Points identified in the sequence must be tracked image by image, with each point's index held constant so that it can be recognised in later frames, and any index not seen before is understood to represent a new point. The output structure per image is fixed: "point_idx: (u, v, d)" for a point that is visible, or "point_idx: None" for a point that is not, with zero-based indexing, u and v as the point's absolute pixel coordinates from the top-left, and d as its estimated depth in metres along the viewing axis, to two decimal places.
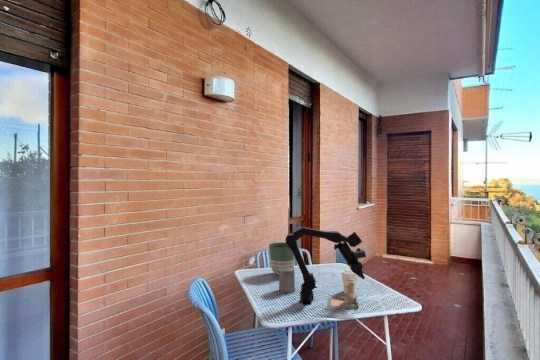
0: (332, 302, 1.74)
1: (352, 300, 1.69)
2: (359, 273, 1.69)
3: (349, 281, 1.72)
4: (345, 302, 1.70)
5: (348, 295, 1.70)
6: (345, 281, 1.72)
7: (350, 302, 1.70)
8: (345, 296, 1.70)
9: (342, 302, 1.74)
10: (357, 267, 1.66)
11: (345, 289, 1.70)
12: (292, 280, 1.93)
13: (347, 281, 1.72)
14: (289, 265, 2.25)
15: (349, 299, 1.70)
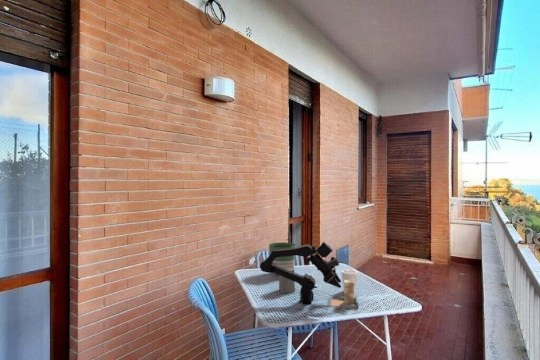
0: (332, 302, 1.74)
1: (352, 300, 1.69)
2: (334, 282, 1.68)
3: (349, 281, 1.72)
4: (345, 302, 1.70)
5: (348, 295, 1.70)
6: (345, 281, 1.72)
7: (350, 302, 1.70)
8: (345, 296, 1.70)
9: (342, 302, 1.74)
10: (329, 277, 1.65)
11: (345, 289, 1.70)
12: None
13: (347, 281, 1.72)
14: (289, 265, 2.25)
15: (349, 299, 1.70)
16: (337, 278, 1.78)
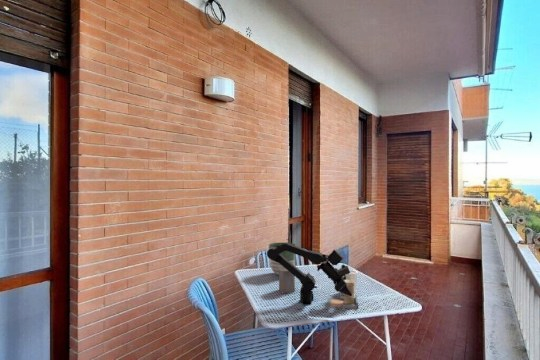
0: (332, 302, 1.74)
1: (352, 300, 1.69)
2: (345, 291, 1.67)
3: (349, 281, 1.72)
4: (345, 302, 1.70)
5: (348, 295, 1.70)
6: (345, 281, 1.72)
7: (350, 302, 1.70)
8: (345, 296, 1.70)
9: (342, 302, 1.74)
10: (340, 286, 1.64)
11: None
12: (292, 280, 1.93)
13: (347, 281, 1.72)
14: None
15: (349, 299, 1.70)
16: None
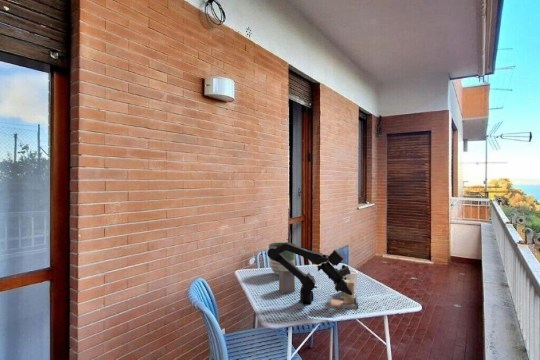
0: (332, 302, 1.74)
1: (352, 300, 1.69)
2: (345, 290, 1.69)
3: (349, 281, 1.72)
4: (345, 302, 1.70)
5: (348, 295, 1.70)
6: (345, 281, 1.72)
7: (350, 302, 1.70)
8: (345, 296, 1.70)
9: (342, 302, 1.74)
10: (340, 286, 1.64)
11: None
12: (292, 280, 1.93)
13: (347, 281, 1.72)
14: None
15: (349, 299, 1.70)
16: None
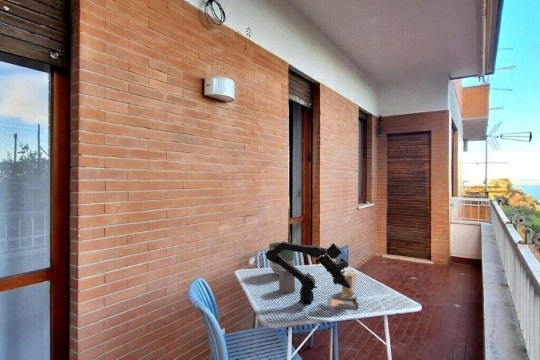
0: (332, 302, 1.74)
1: (350, 293, 1.70)
2: (343, 283, 1.69)
3: (347, 274, 1.72)
4: (343, 295, 1.70)
5: (346, 288, 1.70)
6: None
7: (348, 295, 1.70)
8: (343, 289, 1.71)
9: (342, 302, 1.74)
10: (339, 279, 1.64)
11: None
12: (292, 280, 1.93)
13: (345, 274, 1.72)
14: None
15: (347, 292, 1.70)
16: None
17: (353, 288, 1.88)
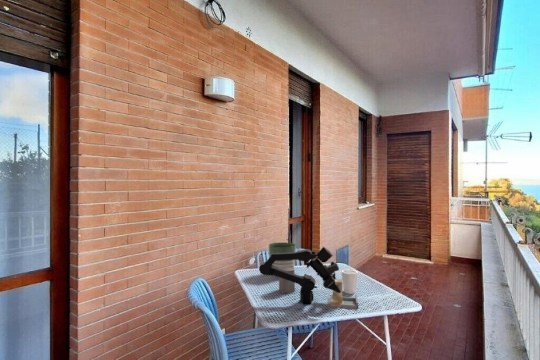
0: (332, 302, 1.74)
1: (340, 299, 1.71)
2: (333, 288, 1.68)
3: (338, 280, 1.73)
4: (333, 301, 1.71)
5: (336, 294, 1.71)
6: None
7: (338, 301, 1.71)
8: (333, 295, 1.72)
9: (342, 302, 1.74)
10: (329, 282, 1.65)
11: None
12: None
13: (335, 280, 1.73)
14: (289, 265, 2.25)
15: (337, 298, 1.71)
16: None
17: (353, 288, 1.88)
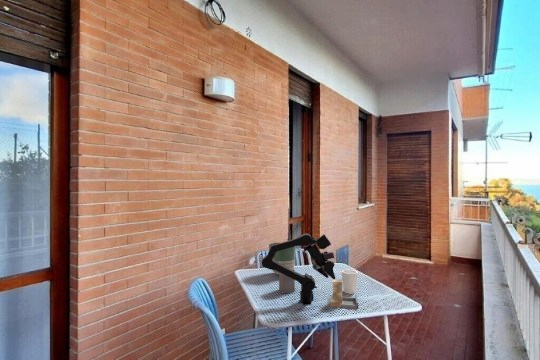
0: (332, 302, 1.74)
1: (340, 299, 1.71)
2: (330, 273, 1.70)
3: (338, 280, 1.73)
4: (333, 301, 1.71)
5: (336, 294, 1.71)
6: (334, 280, 1.73)
7: (338, 301, 1.71)
8: (333, 295, 1.72)
9: (342, 302, 1.74)
10: (330, 265, 1.68)
11: (333, 288, 1.72)
12: (292, 280, 1.93)
13: (335, 280, 1.73)
14: (289, 265, 2.25)
15: (337, 298, 1.71)
16: (325, 273, 1.80)
17: (353, 288, 1.88)
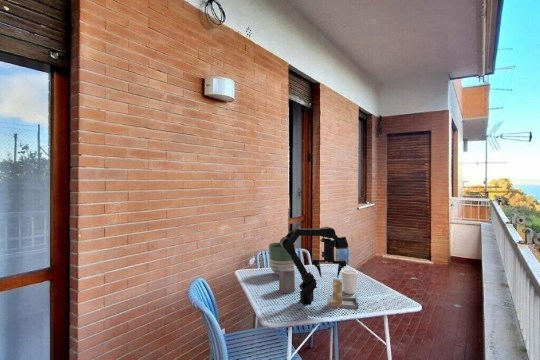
0: (332, 302, 1.74)
1: (340, 299, 1.71)
2: (339, 271, 1.78)
3: (338, 280, 1.73)
4: (333, 301, 1.71)
5: (336, 294, 1.71)
6: (334, 280, 1.73)
7: (338, 301, 1.71)
8: (333, 295, 1.72)
9: (342, 302, 1.74)
10: None
11: (333, 288, 1.72)
12: (292, 280, 1.93)
13: (335, 280, 1.73)
14: (289, 265, 2.25)
15: (337, 298, 1.71)
16: (320, 272, 1.81)
17: (353, 288, 1.88)
